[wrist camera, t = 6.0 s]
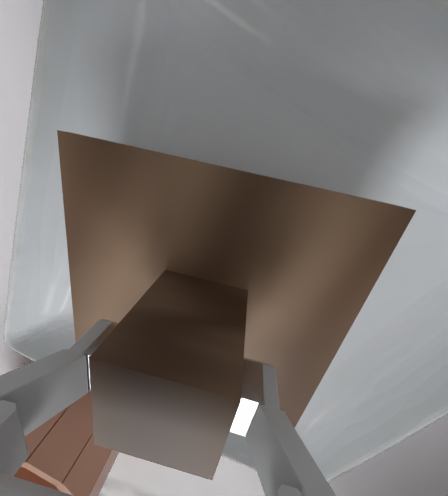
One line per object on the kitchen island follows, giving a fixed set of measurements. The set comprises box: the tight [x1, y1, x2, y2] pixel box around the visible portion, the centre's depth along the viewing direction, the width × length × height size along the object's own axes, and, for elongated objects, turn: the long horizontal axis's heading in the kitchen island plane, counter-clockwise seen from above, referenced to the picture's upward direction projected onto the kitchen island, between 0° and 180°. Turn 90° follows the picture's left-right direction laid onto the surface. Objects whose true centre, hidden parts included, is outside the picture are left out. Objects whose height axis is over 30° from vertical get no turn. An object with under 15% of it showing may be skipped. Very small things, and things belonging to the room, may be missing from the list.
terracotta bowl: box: [14, 391, 119, 496], centre depth 21 cm, size 12×12×6 cm
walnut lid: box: [57, 130, 416, 480], centre depth 9 cm, size 14×14×6 cm
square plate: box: [4, 0, 448, 482], centre depth 13 cm, size 27×27×4 cm
